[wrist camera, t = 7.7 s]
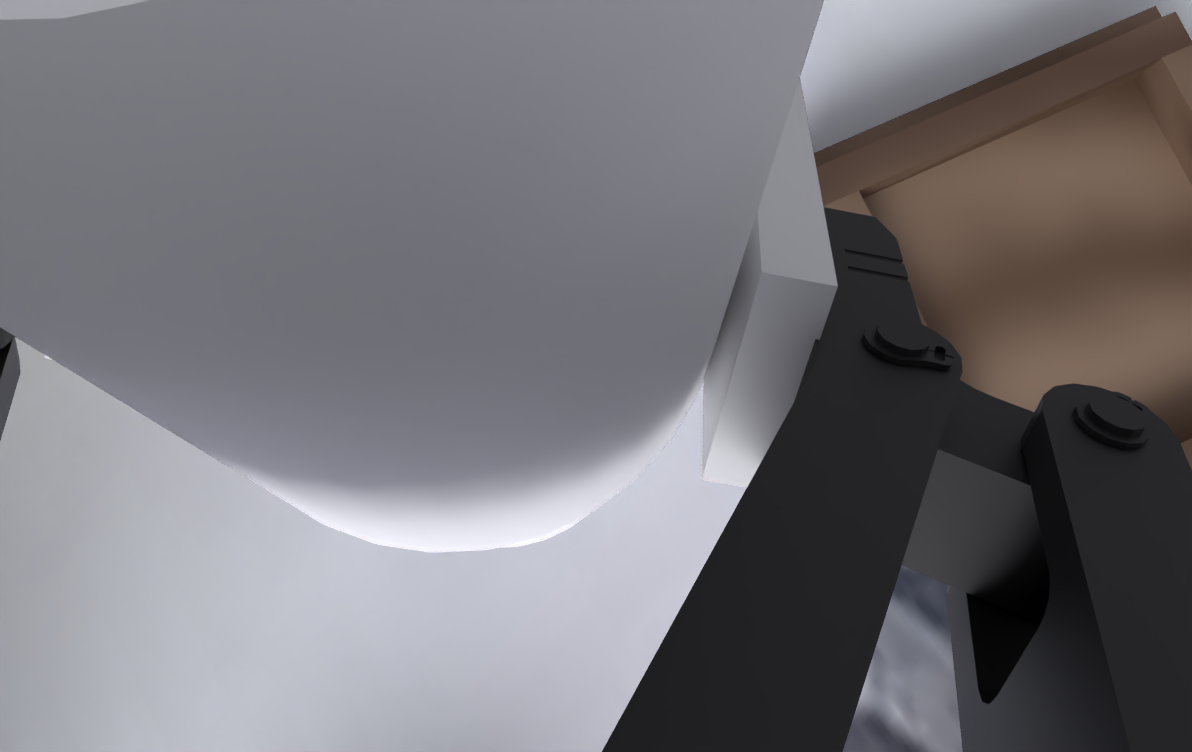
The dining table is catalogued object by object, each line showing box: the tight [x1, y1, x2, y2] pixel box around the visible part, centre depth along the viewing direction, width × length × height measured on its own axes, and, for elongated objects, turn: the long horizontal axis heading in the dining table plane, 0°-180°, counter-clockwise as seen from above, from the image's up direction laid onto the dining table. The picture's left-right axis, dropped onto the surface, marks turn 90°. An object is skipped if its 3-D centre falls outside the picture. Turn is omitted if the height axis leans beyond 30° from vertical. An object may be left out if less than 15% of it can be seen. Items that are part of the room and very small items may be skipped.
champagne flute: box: [0, 0, 824, 553], centre depth 14 cm, size 7×7×24 cm
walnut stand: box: [814, 6, 1192, 470], centre depth 34 cm, size 15×15×3 cm
